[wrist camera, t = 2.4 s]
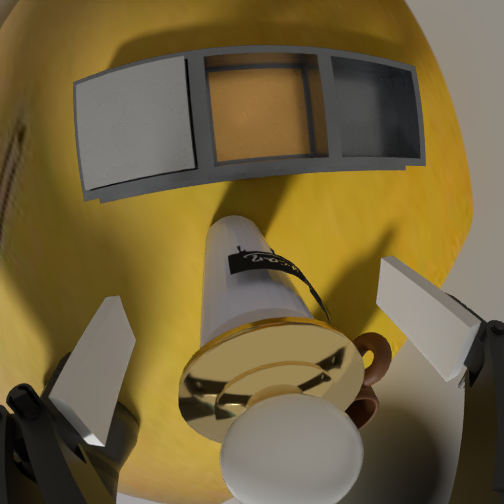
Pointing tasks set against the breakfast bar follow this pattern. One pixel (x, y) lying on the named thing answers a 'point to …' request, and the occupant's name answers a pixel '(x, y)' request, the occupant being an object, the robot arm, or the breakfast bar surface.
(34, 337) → the breakfast bar surface
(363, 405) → the mug
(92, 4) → the breakfast bar surface
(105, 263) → the breakfast bar surface
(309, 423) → the perfume bottle
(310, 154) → the rack
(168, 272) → the breakfast bar surface
